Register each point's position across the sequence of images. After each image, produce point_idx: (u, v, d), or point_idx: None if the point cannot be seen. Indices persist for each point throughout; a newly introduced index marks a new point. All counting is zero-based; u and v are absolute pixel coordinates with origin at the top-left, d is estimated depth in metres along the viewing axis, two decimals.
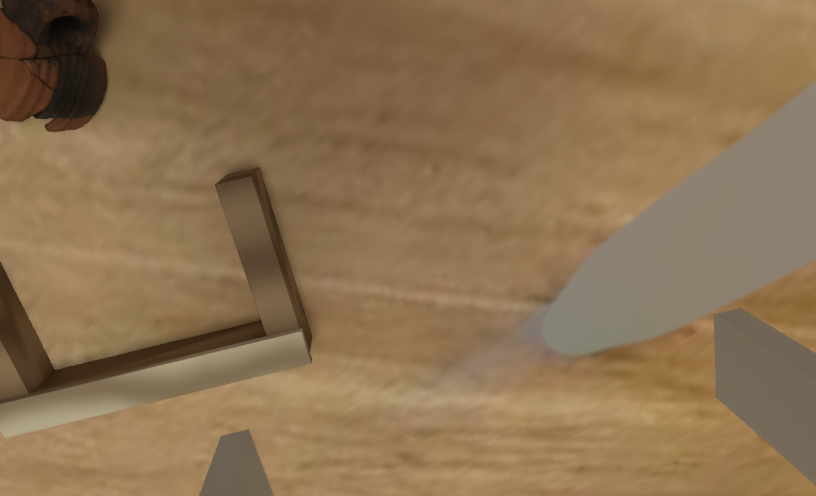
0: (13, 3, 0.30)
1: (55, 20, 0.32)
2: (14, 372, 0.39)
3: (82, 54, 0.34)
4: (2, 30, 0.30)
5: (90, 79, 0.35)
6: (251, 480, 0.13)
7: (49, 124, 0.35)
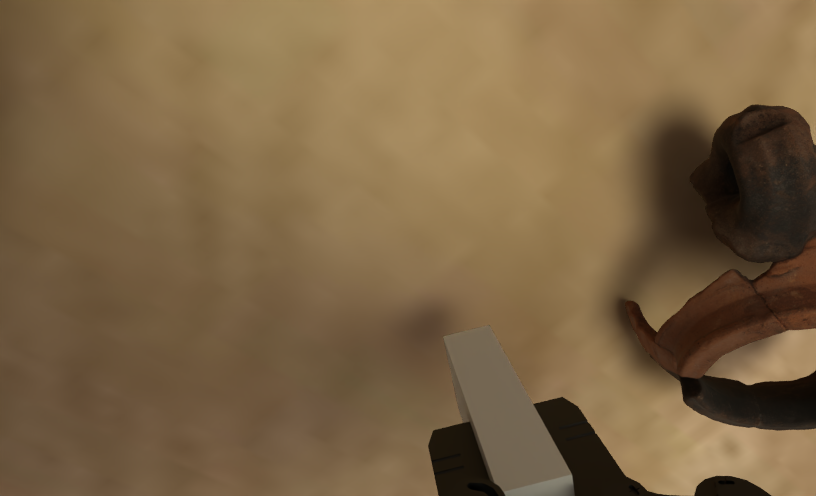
0: (770, 241, 0.15)
1: None
2: None
3: None
4: None
5: None
6: None
7: None
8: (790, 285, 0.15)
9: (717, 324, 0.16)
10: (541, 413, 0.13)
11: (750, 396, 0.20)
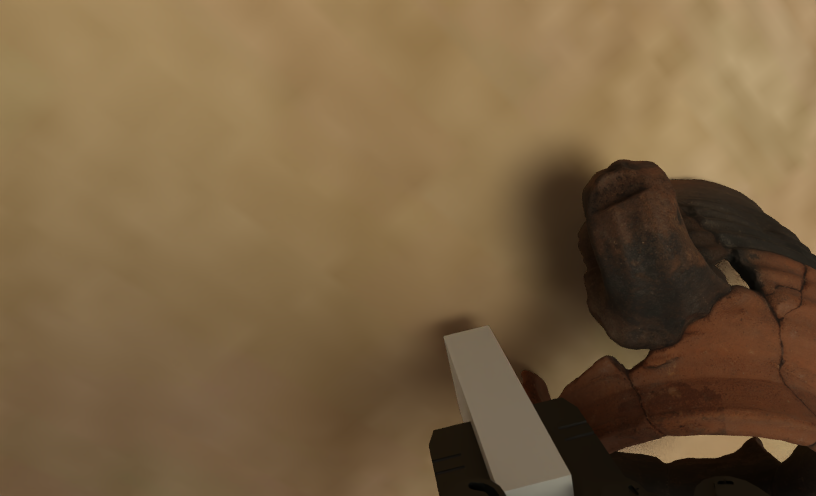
0: (642, 326, 0.13)
1: None
2: None
3: (685, 209, 0.15)
4: (715, 353, 0.12)
5: (721, 202, 0.16)
6: None
7: None
8: (669, 379, 0.13)
9: (592, 422, 0.14)
10: (540, 413, 0.13)
11: (662, 482, 0.17)
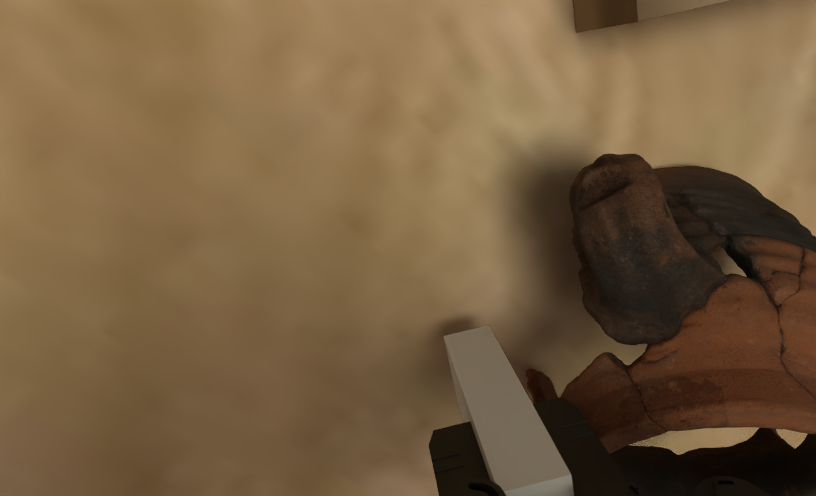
0: (638, 322, 0.13)
1: None
2: None
3: (677, 198, 0.15)
4: (714, 345, 0.12)
5: (716, 188, 0.15)
6: None
7: None
8: (668, 373, 0.13)
9: (594, 420, 0.13)
10: (540, 413, 0.13)
11: (675, 474, 0.17)
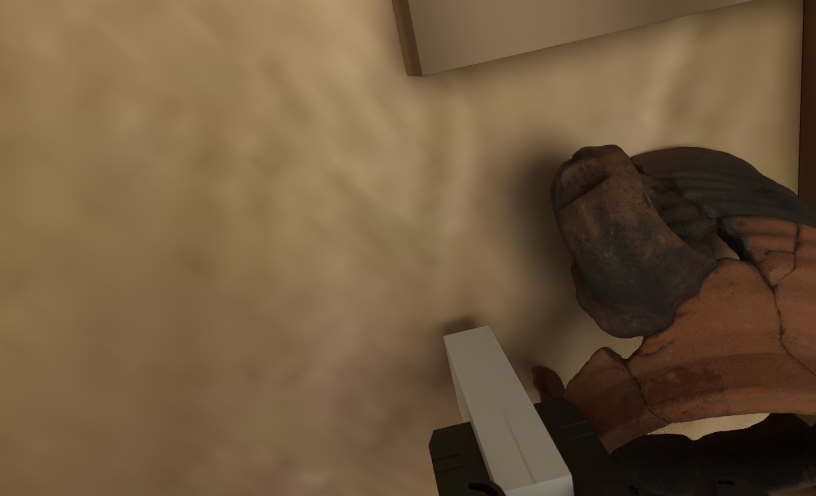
0: (631, 315, 0.12)
1: None
2: None
3: (665, 183, 0.14)
4: (710, 332, 0.12)
5: (705, 168, 0.15)
6: None
7: None
8: (666, 364, 0.12)
9: (597, 417, 0.13)
10: (540, 413, 0.13)
11: (690, 461, 0.17)
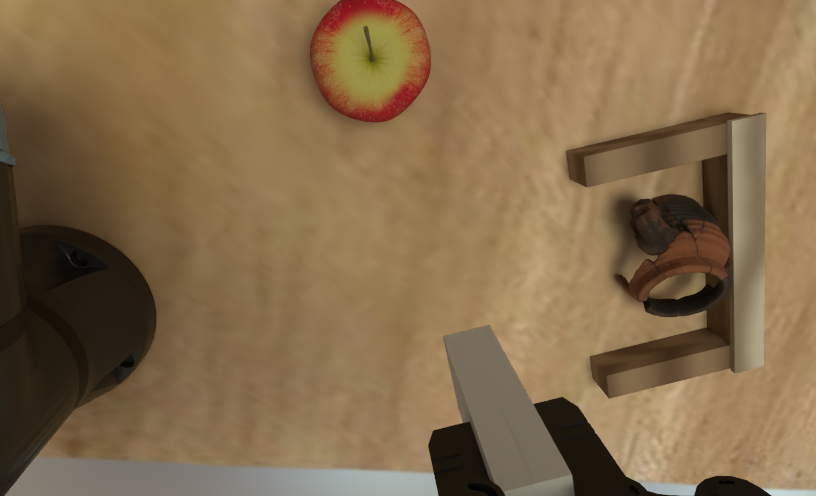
0: (655, 247, 0.43)
1: None
2: (710, 351, 0.49)
3: (664, 208, 0.45)
4: (677, 251, 0.43)
5: (677, 203, 0.46)
6: None
7: None
8: (666, 261, 0.43)
9: (645, 280, 0.44)
10: (541, 413, 0.13)
11: (675, 304, 0.47)
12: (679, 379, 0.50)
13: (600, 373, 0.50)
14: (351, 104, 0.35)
